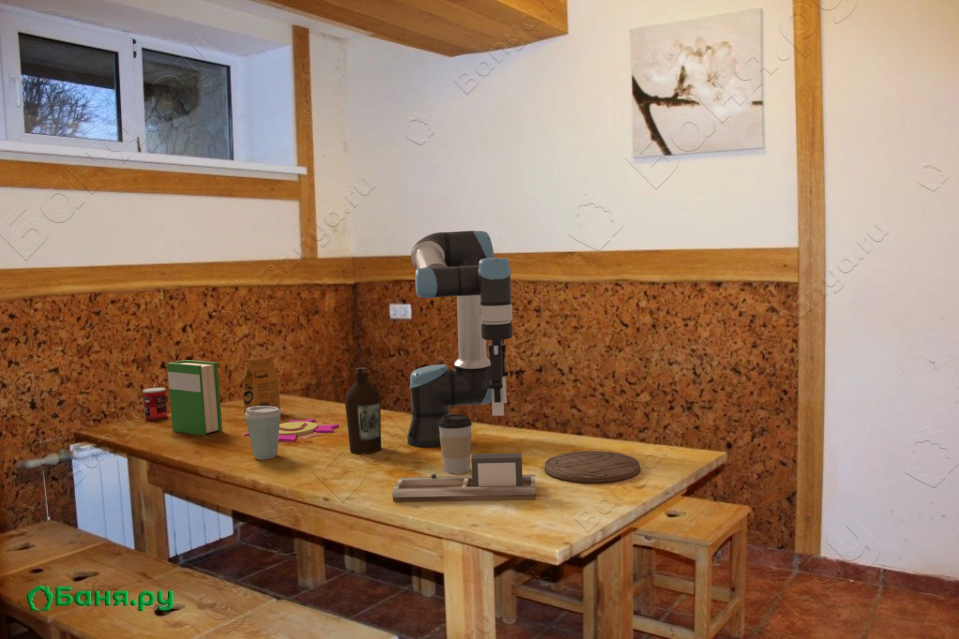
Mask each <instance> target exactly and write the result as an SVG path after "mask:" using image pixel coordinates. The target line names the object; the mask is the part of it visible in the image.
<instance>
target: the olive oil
mask: <svg viewBox="0 0 959 639" xmlns="http://www.w3.org/2000/svg"><path fill="white" fill-rule="evenodd" d="M381 400H382V399H381V394H380V392H379V390H378V389H377V388H376V387H375V386H374V385H373V384H372V383H371V382H370V381H369V380H368V372H367V367H365V366H364V367H357V368H355V381H354V383H353V384H352V385H351V386H350V388H349V389H348V390H347V392H346V394H345V398H344V406H345V413H346V414H345V416H346V421H347V422H346V423H347V432H348V443H349V444H348V445H349V452H350V453H352V454H355V453H356V455H357V454H358V455H363V454H362V453H368V454H374V453H377V452H379V451H381V449H382V420H381V419H382V416H381V414H382V413H381V412H382V408H381V406H382V404H381V402H382V401H381ZM359 453H360V454H359Z"/></svg>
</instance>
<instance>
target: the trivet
mask: <svg viewBox="0 0 959 639" xmlns="http://www.w3.org/2000/svg"><path fill="white" fill-rule="evenodd" d="M640 472H641V462H640V461H639V459H636V457H632V456H631V455H628V454H623V453H619V452H612V451H604V450H602V451H601V450H584V451H572V452H564V453H561V454H557V455H554V456H552V457H550V458H548V459H547V460H545V461H544V473H545V474H546V475H547V476H549V477H551V478H552V479H556V480H558V481H561V482H562V481H563V482H566V483H571V484H583V485H592V484H593V485H601V484H612V483H613V484H614V483H618V482H624V481H626V480H629V479H633V478H635V477H636V476H637V475H639V474H640Z"/></svg>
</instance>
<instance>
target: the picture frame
mask: <svg viewBox="0 0 959 639" xmlns="http://www.w3.org/2000/svg"><path fill="white" fill-rule="evenodd" d="M522 454H523V453H522V452H513V453H511V452H508V453H506V452H505V453H473V454H472V453H471V457H470V464H471V476H472V486H473V487H497V486H523V477H522V475H523V456H522Z"/></svg>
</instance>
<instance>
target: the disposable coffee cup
mask: <svg viewBox="0 0 959 639" xmlns="http://www.w3.org/2000/svg"><path fill="white" fill-rule="evenodd" d="M281 410H282V409H281V408H280V409H279V408H277V407H272V406H254V407H249V408H247V409H246V413H245V414H244V418H245V422H246V426H247V429H248V430H247V431H248V432H247V433H249V436H248V437H250V438H249V439H250V444H251V449H252V453H253V456H254V458H255V459H256V458H257V459H256V460H269V458H270V459H274V458H275V456H276V457H277V454H278V448H279V442H278V437H279V425H280V423H281V414H282V411H281ZM273 457H274V458H273Z"/></svg>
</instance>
